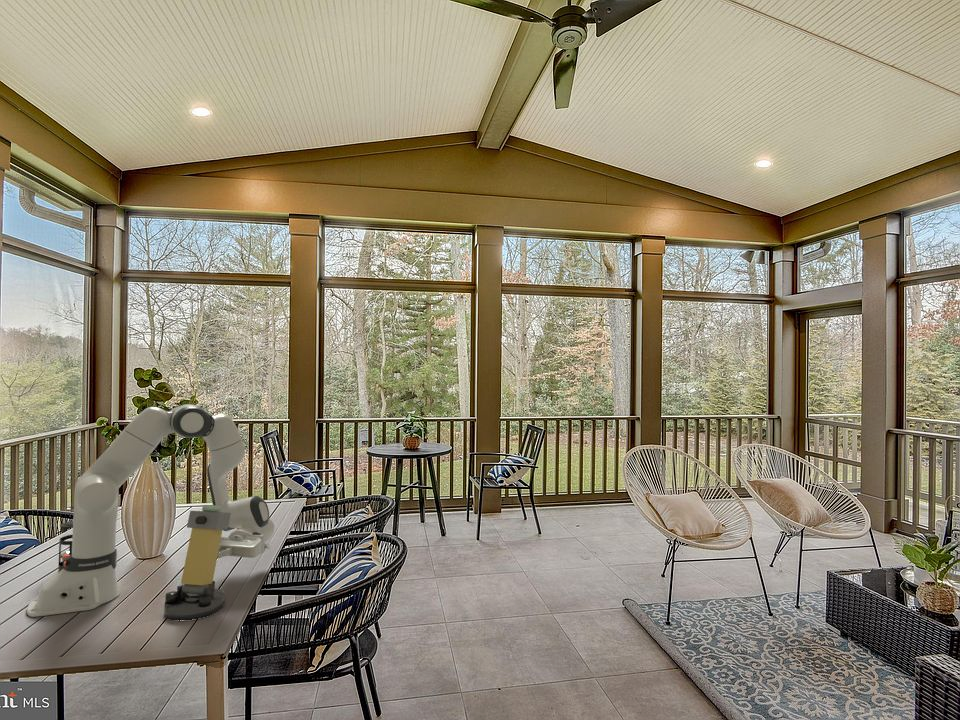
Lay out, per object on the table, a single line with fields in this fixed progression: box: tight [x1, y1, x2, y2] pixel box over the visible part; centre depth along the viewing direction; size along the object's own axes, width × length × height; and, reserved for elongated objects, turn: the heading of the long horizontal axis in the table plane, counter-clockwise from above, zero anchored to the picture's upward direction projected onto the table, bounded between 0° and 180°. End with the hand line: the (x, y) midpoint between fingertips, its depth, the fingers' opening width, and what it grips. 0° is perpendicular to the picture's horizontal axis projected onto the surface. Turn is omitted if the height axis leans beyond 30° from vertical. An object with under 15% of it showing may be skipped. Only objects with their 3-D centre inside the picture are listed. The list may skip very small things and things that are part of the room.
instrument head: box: [180, 504, 231, 595], centre depth 161 cm, size 8×10×26 cm
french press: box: [57, 505, 74, 573], centre depth 186 cm, size 12×9×23 cm
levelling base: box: [163, 580, 225, 622], centre depth 159 cm, size 16×16×7 cm
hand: (215, 555), depth 168 cm, fingers closed
